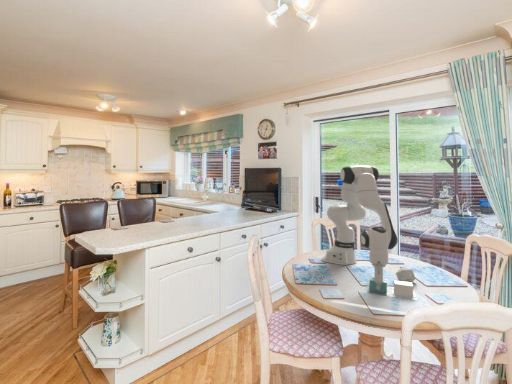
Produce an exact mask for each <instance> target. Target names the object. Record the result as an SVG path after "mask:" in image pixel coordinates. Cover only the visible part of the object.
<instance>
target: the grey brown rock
mask: <svg viewBox="0 0 512 384" xmlns="http://www.w3.org/2000/svg"><path fill="white" fill-rule="evenodd" d="M395 275H396V277H397V281H404V282H412V283H413V282H414V281H415V280H416V276H415V273H414V271H413V269H412V268H407V267H404V266H402V267H400V268H399V269H398V270H397V271H396V272H395Z"/></svg>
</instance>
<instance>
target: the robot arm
mask: <svg viewBox="0 0 512 384" xmlns="http://www.w3.org/2000/svg"><path fill="white" fill-rule="evenodd" d="M379 174H380V172H379V169H378V168H377V166H374V165H352V166H344V167H342V169H341V170H340V175H339V177H340V180H341V182H342V186H341V191H340V199H341V200H342V201H344V202H345V203H346V204H335V205H331V206H329V207H328V208H327V211H326V216H327V218H328V219H329V220H330V221H331V222H332V223H333V224H334V225H335V227H336V234H337V235H336V236H337V239H336V238H335V239H334V240H333V241H334V242H333V244H334V245H332V246H331V247H329V248H328V249H327V250H326V252H325V255H324V256H323V257H322V258H321V260H322V261H323V262H324V263H329V264H334V265H335V264H336V265H340V266H348V265H354V264H357V258H356V252H355V251H356V241H355V229H354V228H353V227H351V226H350V225H348V224H347V222H356V221H361V220H364V219H365V217H366V210H369V211H372V212H375V213H376V214H377V215H378V217H379V219H380V222H381V226H371V229H369V230H368V229H367V230H363V231H362V232H361V234H360V244H361V246H362V247H364V248H366V249H369V255H368V256H369V257H368V258H369V259H368V260H369V261H368V262H369V263H371V266H372V267H373V268H374V276H373V277H374V281H375V283H376V289H378V290H380V286H381V284H382V283H383V279H384V268H385V267H386V266H387V265H388V264H389V250H393V249H394V248H395V247H396V246H397V244H398V242H399V241H398V240H399V239H398V236H397V233H396V232H395V229H394V226H393V222H392V219H391V216H390V211H389V210H388V206H387V204H386V202H385V201H383V200H382V199H381V197H380V195H379V191H378V190H379V189H378V185H377V181H378V180H379V176H380V175H379Z"/></svg>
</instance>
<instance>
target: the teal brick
mask: <svg viewBox="0 0 512 384" xmlns="http://www.w3.org/2000/svg"><path fill="white" fill-rule="evenodd" d="M387 281H388V280H387V278H383V283H382V284H381V286H380V290H378V289H376V283H375V281H374V276H373V277H372V276H369V283H370V286H369V290H373V291H380V292H387V286H388V282H387Z"/></svg>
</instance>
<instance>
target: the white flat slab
mask: <svg viewBox="0 0 512 384" xmlns="http://www.w3.org/2000/svg"><path fill="white" fill-rule="evenodd" d="M369 286H370V282H368V283H367V287H366V288H367V289H366V291H367V292H366V293H367V294H373V295H378V296H379V295H380V296H384V297H385V296H386V297H391V298H398V299H403V300H405V299H406V300H411V301H418V297H417V295H416V291H415V289H413V296H407V295H400V294H395V293H394V286H392V285H391V286H390V285H387V292H380V291H373V290H369Z"/></svg>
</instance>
